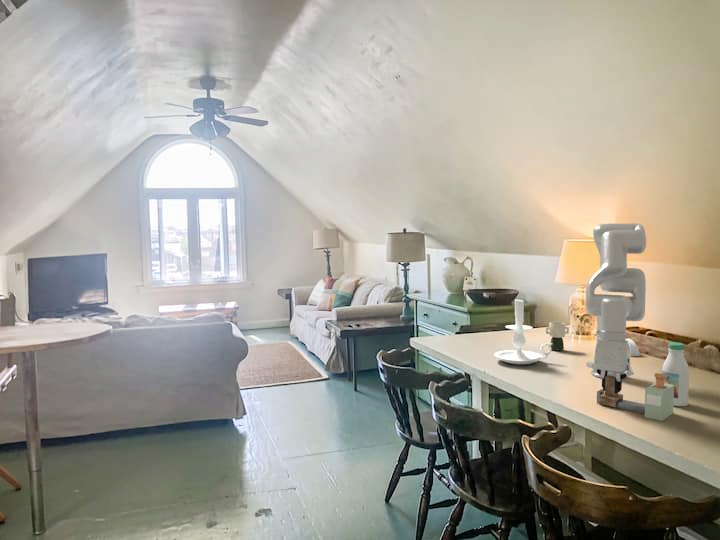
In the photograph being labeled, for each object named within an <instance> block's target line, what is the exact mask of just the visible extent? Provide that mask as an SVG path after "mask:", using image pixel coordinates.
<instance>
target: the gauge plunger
mask: <svg viewBox="0 0 720 540" xmlns="http://www.w3.org/2000/svg"><path fill="white" fill-rule="evenodd" d="M654 378H655V383H656V388H662V389H664V383H665V378H666V375H665V374H662V373H661V372H660V373H659V372H656V373H654Z"/></svg>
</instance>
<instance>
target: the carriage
mask: <svg viewBox="0 0 720 540" xmlns="http://www.w3.org/2000/svg"><path fill="white" fill-rule="evenodd" d="M615 381H616V376H610V375H609V376H606V377H605V391H604V393H603V394H601V395H600V403H599V404H598V405H602V404H603V406H607V407H611V406H612V407H613V408H616V401H618V400H619V399H622V400H624V394H622V393H615V392H614V390H615Z"/></svg>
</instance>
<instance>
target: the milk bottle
mask: <svg viewBox="0 0 720 540" xmlns="http://www.w3.org/2000/svg"><path fill="white" fill-rule="evenodd" d="M667 346H668V354H667V357H666V358H665V360H664V362H663V365H662V371H661V372H662V373H661V374H665V375H666V378H665V383H666V384H671V385H674V403H673V407H687V406H688V405H689V392H690V391H689V389H690V388H689V386H690V385H689V384H690V369H689V365H688V362H687V360H686V358H685V354H684V352H685V347H686V345H685V344H683V343H682V342H669V343H668V345H667Z"/></svg>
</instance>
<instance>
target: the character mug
mask: <svg viewBox="0 0 720 540" xmlns="http://www.w3.org/2000/svg"><path fill="white" fill-rule="evenodd" d="M569 329H570V328H569V326H566V323H565V322H558V321H551V322H549V326H547V327H545V334H547V335H549V336H550V337H551V339H550V343H553V344H552V345H551V348H552V350H553V351H563V350H565V346H564V340H563V338H564V337H565V336H566V335H567V334H569Z"/></svg>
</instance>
